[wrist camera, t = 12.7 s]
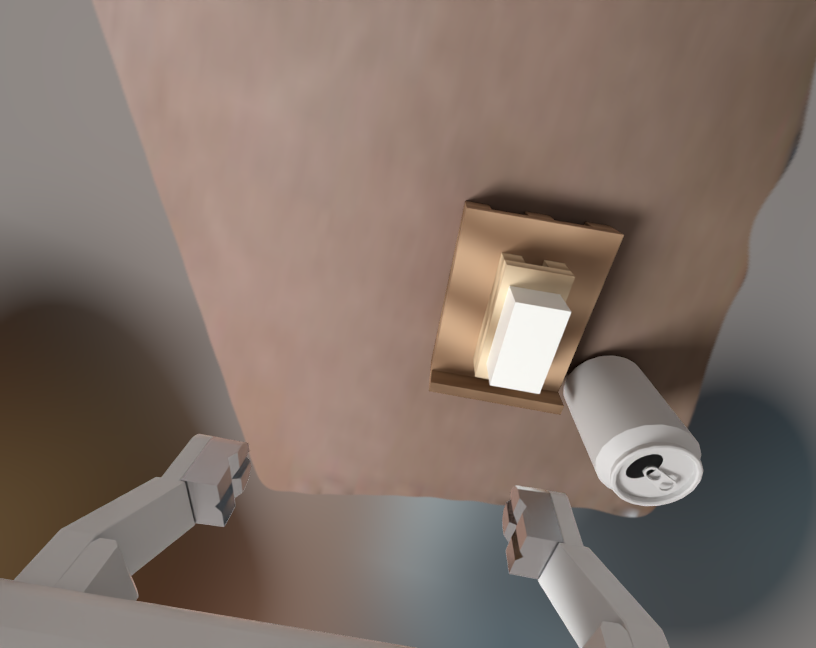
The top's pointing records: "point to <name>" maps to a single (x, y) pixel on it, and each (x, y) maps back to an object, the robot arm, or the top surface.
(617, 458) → the can
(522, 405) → the dock
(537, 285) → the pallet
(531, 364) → the white rectangular block
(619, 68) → the top surface
